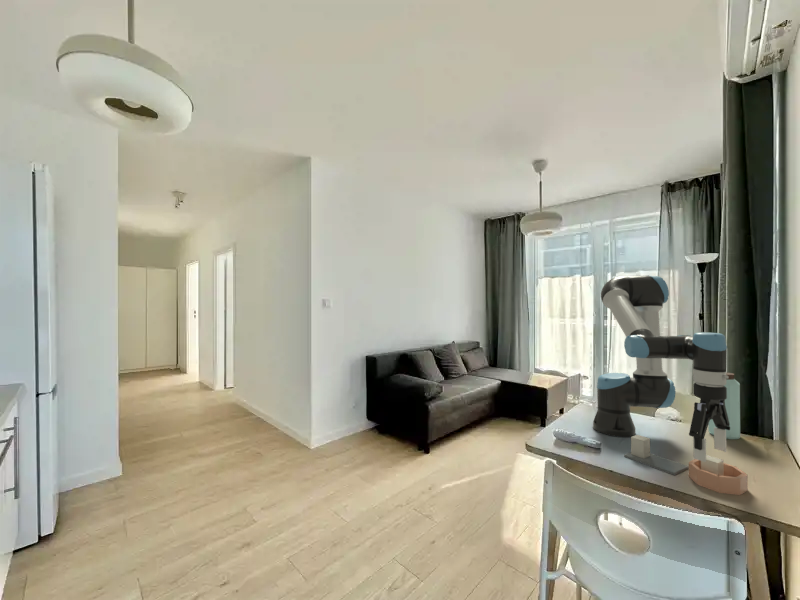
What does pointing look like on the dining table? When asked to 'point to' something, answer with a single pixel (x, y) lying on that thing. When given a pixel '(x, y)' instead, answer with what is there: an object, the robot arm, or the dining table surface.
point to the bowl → (719, 478)
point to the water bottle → (731, 408)
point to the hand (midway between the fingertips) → (710, 454)
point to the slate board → (659, 463)
